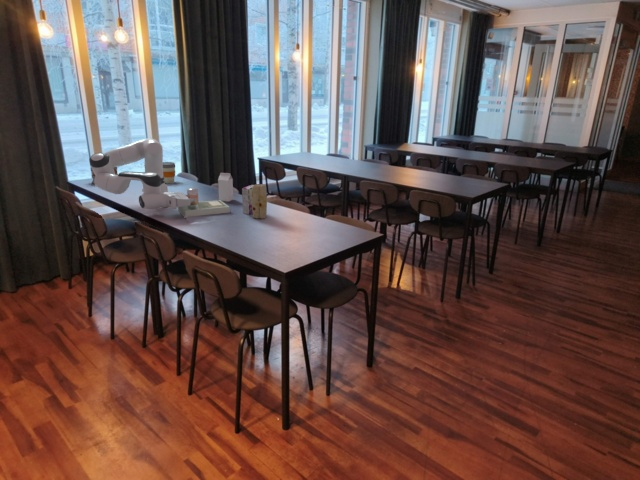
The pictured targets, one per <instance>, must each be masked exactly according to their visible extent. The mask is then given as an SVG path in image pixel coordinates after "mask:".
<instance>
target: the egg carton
mask: <svg viewBox="0 0 640 480" xmlns="http://www.w3.org/2000/svg"><path fill="white" fill-rule="evenodd" d="M212 201H213V202H208V208H217V207H223V205H222V204H221V203H219V202H218V201H216V200H212Z"/></svg>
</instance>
